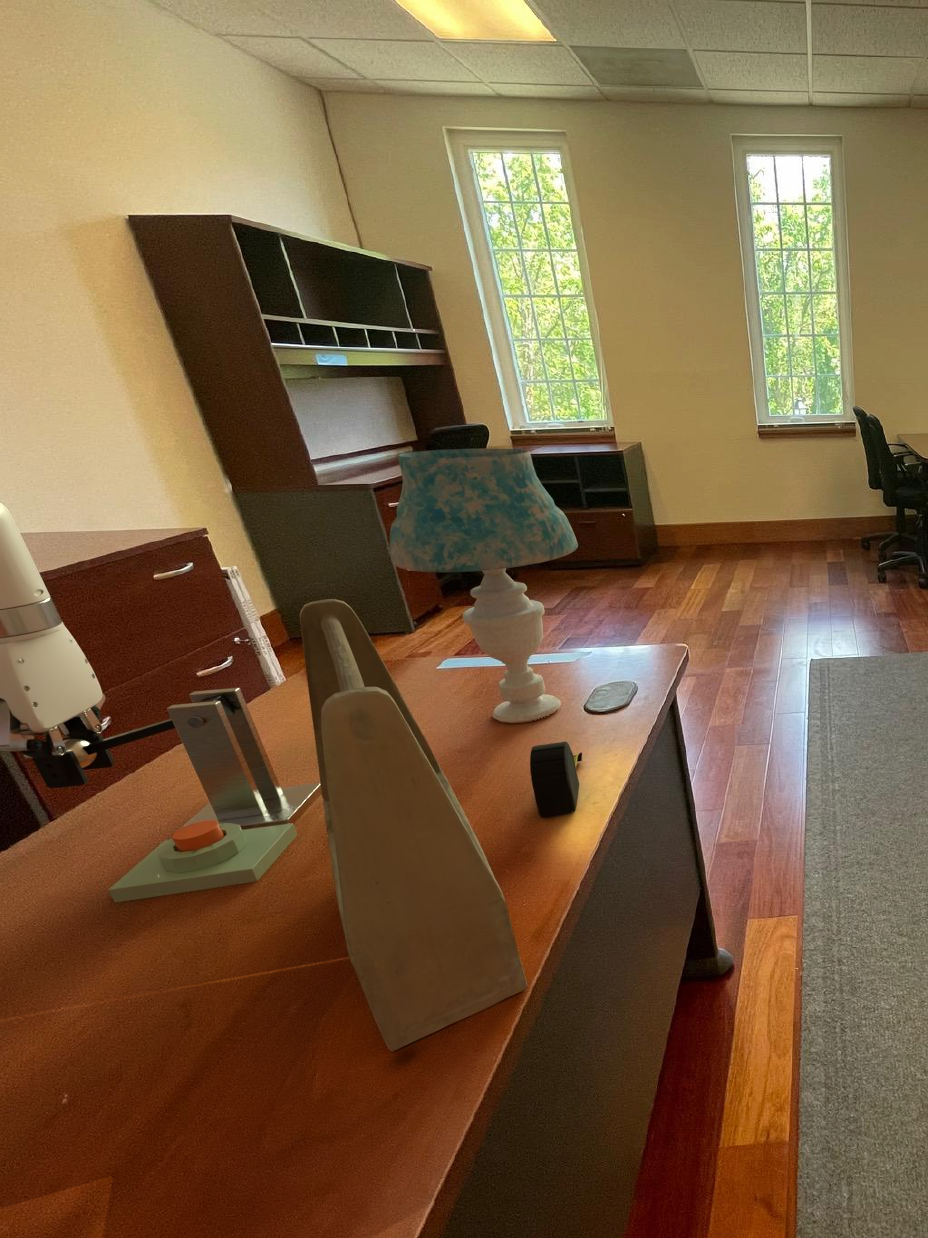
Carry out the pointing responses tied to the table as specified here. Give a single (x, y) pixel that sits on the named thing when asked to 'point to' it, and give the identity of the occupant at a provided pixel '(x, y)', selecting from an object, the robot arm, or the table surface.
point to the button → (197, 835)
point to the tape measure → (554, 778)
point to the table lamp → (486, 552)
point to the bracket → (235, 765)
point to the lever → (126, 737)
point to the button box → (205, 863)
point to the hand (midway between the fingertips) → (82, 775)
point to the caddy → (400, 846)
